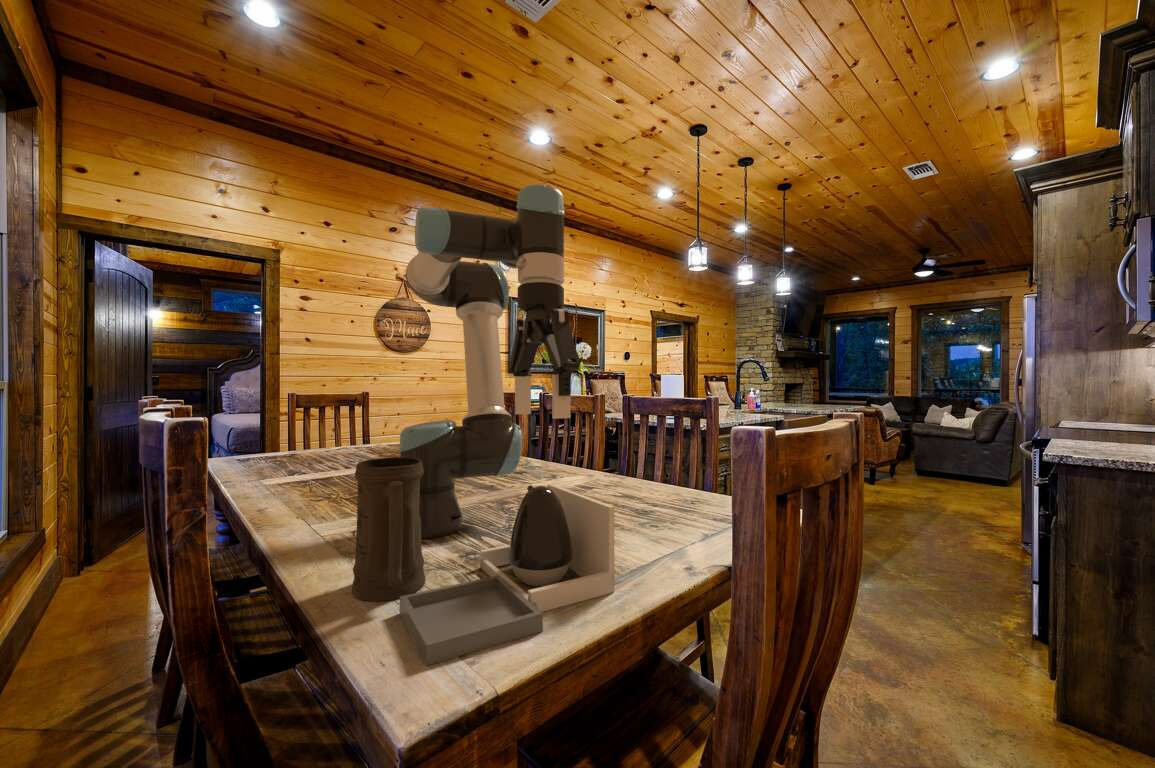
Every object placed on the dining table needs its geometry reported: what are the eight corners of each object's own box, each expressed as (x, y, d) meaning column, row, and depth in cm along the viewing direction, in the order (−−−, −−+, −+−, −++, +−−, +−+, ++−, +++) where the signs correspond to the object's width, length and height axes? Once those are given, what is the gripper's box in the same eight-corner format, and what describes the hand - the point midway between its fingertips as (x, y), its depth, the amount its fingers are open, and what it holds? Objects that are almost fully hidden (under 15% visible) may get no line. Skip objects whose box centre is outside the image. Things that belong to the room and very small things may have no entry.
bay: (480, 567, 83) (480, 492, 83) (551, 553, 90) (552, 483, 90) (531, 614, 66) (531, 519, 66) (614, 592, 73) (614, 506, 73)
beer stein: (343, 581, 77) (345, 457, 76) (411, 566, 83) (414, 452, 82) (367, 627, 65) (369, 479, 63) (444, 605, 71) (448, 471, 70)
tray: (399, 613, 66) (399, 596, 66) (499, 590, 74) (499, 575, 74) (426, 666, 54) (426, 645, 54) (542, 631, 61) (542, 613, 61)
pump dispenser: (556, 564, 85) (557, 477, 85) (582, 586, 75) (582, 489, 75) (500, 573, 80) (500, 482, 80) (520, 598, 71) (520, 495, 71)
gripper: (490, 295, 87) (490, 413, 87) (557, 265, 65) (558, 421, 65) (528, 299, 91) (528, 412, 91) (603, 272, 69) (603, 419, 69)
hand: (540, 416), depth 78 cm, fingers open, 13 cm apart
